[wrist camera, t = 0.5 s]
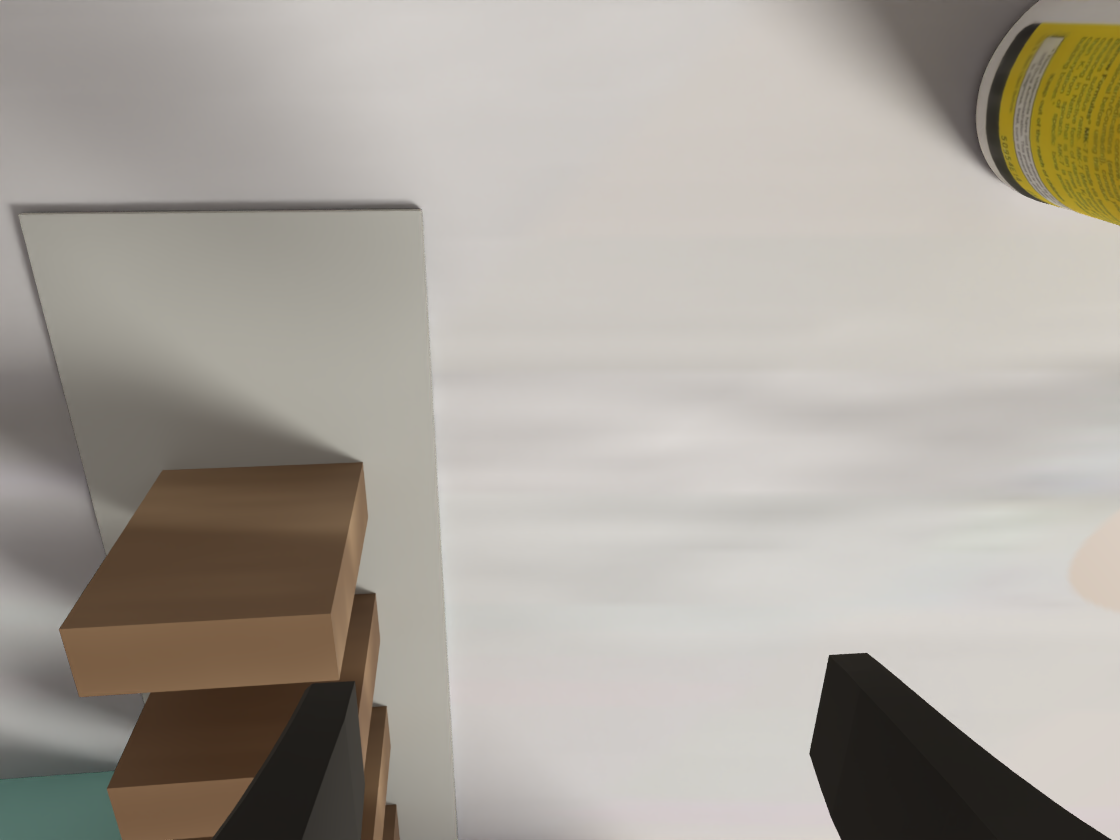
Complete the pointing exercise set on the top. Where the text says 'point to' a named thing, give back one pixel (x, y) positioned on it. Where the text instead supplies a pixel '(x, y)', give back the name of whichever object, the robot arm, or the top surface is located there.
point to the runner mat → (271, 404)
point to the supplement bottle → (1057, 107)
